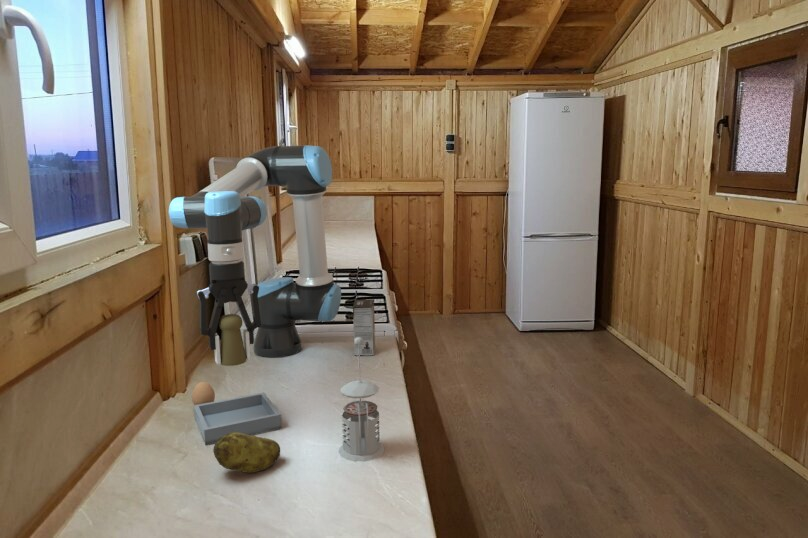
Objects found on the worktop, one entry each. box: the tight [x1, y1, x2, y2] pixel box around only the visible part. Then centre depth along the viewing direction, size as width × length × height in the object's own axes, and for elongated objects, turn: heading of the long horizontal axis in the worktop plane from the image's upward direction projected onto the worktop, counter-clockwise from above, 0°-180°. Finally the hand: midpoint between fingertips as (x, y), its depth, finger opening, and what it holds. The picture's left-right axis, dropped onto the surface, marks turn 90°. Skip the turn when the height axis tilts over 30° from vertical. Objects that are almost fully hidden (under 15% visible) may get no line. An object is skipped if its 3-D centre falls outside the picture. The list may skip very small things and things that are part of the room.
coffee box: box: [352, 299, 376, 356], centre depth 194 cm, size 9×6×16 cm
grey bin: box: [193, 392, 283, 446], centre depth 144 cm, size 17×15×4 cm
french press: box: [338, 337, 385, 462], centre depth 128 cm, size 10×12×25 cm
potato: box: [213, 433, 281, 473], centre depth 123 cm, size 8×13×8 cm, turn 104°
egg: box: [191, 381, 216, 406], centre depth 153 cm, size 5×5×7 cm
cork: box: [218, 313, 248, 367], centre depth 140 cm, size 6×6×11 cm
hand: (232, 359), depth 141 cm, fingers closed on cork, 6 cm apart
